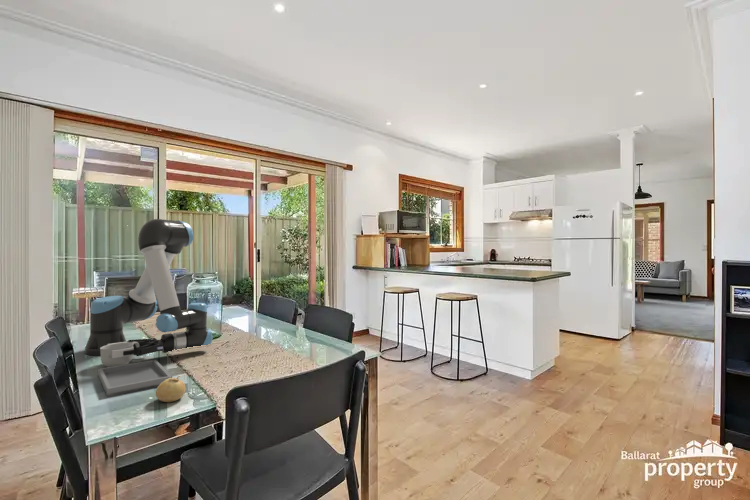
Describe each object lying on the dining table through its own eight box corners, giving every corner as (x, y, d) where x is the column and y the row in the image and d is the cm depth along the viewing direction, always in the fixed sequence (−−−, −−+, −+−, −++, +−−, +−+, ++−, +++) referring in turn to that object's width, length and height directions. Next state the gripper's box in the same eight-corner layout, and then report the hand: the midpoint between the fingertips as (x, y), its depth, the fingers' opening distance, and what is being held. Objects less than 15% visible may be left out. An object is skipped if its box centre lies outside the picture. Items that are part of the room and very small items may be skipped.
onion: (154, 407, 108) (155, 382, 108) (156, 397, 116) (156, 374, 116) (185, 402, 112) (185, 379, 112) (185, 393, 119) (185, 371, 119)
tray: (98, 375, 132) (98, 368, 132) (155, 366, 145) (155, 359, 145) (107, 396, 115) (107, 388, 115) (172, 383, 127) (172, 376, 127)
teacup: (107, 371, 137) (107, 350, 137) (94, 366, 143) (94, 345, 143) (147, 362, 148) (147, 342, 148) (133, 357, 154) (134, 338, 154)
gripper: (180, 357, 149) (114, 368, 134) (165, 345, 166) (105, 353, 151) (180, 338, 149) (114, 347, 134) (165, 328, 166) (105, 335, 151)
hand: (109, 350), depth 143 cm, fingers open, 11 cm apart
